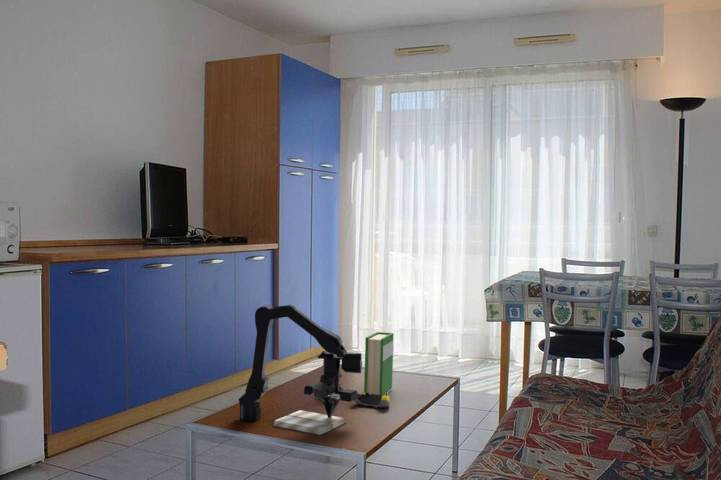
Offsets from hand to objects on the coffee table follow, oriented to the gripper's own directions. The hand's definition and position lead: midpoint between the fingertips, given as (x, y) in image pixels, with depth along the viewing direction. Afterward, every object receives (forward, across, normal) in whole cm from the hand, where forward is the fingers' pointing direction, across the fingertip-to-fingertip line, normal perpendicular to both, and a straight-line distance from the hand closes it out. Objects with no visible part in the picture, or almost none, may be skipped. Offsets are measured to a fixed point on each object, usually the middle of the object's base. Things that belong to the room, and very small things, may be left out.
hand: (329, 417), depth 223 cm
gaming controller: (+3, 0, +31) cm, 31 cm away
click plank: (+2, -4, -1) cm, 5 cm away
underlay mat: (+3, -4, -5) cm, 7 cm away
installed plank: (+2, -4, -10) cm, 11 cm away
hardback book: (+3, -7, +51) cm, 52 cm away
